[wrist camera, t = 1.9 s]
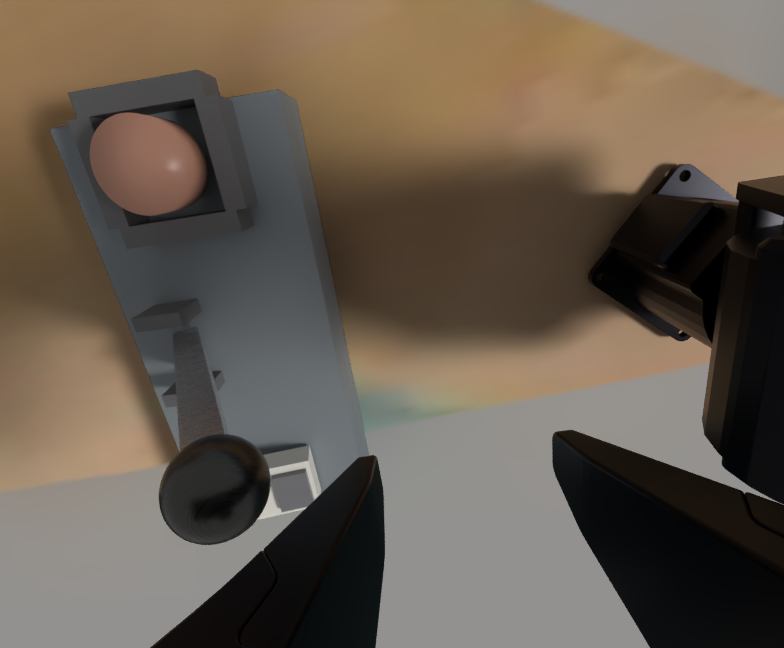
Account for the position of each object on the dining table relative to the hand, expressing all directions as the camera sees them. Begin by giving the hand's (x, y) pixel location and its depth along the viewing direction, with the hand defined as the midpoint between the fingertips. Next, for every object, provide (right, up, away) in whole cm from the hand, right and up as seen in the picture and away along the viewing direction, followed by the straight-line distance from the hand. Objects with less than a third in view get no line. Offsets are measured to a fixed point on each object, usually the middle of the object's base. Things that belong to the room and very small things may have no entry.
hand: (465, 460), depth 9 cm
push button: (-10, +9, +6) cm, 15 cm away
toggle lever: (-11, +2, +10) cm, 15 cm away
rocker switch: (-8, -5, +13) cm, 16 cm away
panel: (-9, +3, +13) cm, 16 cm away
